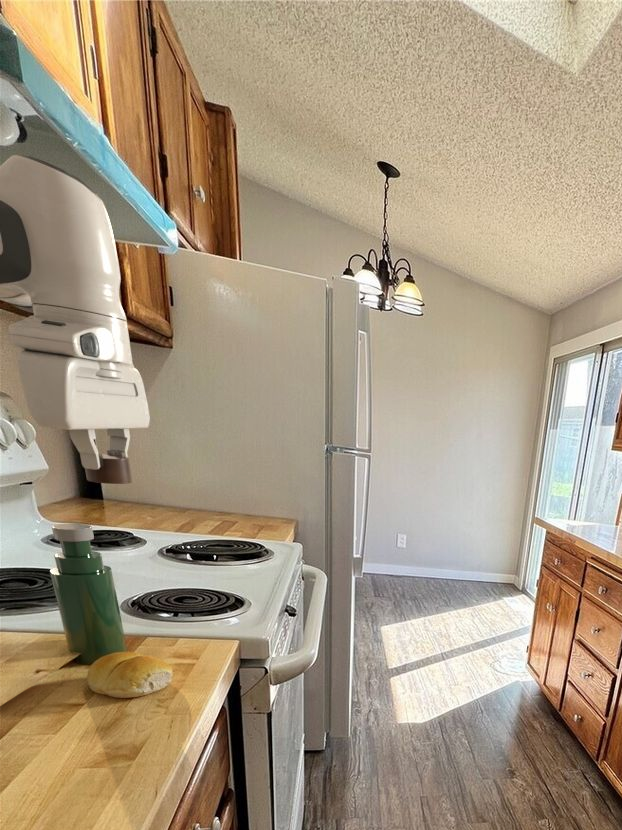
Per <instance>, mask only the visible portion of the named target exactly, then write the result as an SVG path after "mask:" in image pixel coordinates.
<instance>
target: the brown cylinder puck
mask: <svg viewBox="0 0 622 830" xmlns="http://www.w3.org/2000/svg"><path fill="white" fill-rule="evenodd" d="M101 454H102V455H103V463H104V468H102V469H96V470H94V469H86V468H84V470H85V477H86V480H87V481H88V482H92V483H98V484H109V485H110V484H111V485H124V484H125V485H128V484H132V483H133V478H132V472H131V465H130V458H129V457H128V458H127V457H123V456H116V455H107V453H106V454H105V453H101Z"/></svg>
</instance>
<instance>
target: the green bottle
mask: <svg viewBox="0 0 622 830" xmlns="http://www.w3.org/2000/svg"><path fill="white" fill-rule="evenodd" d="M51 530H52V534H53V539H54V540H56V541H59V543H60V547H61V550H62V551H59V552H57V553H54V557H53V558H54V560H55V561H54V562H55V566H56V567H53V568H50V570H49V574H50V579H51V582H52V588H53V590H54V595H55V599H56V603H57V608H58V611H59V616H60V619H61V624H62V628H63V632H64V638H65V640H66V645H67V649H68V650H69V651H70V652H72V653H77V654H78V655H77V656H75V657H74V658H72V659H71V661H72V662H73V663H75V664H80V665H92V664H93V663H94V662H95V661H96V660H98V659H99V658H101V657H103V656H106V655H109V654H112V653H116V652H128V647H127V641H126V637H125V631H124V626H123V621H122V616H121V612H120V611H121V610H120V605H119V600H118V595H117V590H116V586H115V585H116V584H115V580H114V575H113V574H114V573H113V569H112V568H111V567H110V566H108V565H104V562H103V556H102V553H101V552H98V551H94V550H93V549H92V545H91V544H92V543H91V541H93V540H94V539H95V536H94V530H93V526H92V525H90V524H85V523H57V524H54V525H52V526H51Z"/></svg>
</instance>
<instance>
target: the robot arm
mask: <svg viewBox="0 0 622 830" xmlns="http://www.w3.org/2000/svg"><path fill="white" fill-rule="evenodd" d="M120 269H121V268H120V263H119V257H118V252H117V246H116V242H115V237H114V232H113V228H112V223H111V220H110V217H109V214H108V211H107V208H106V206H105V203H104V201H103V200H102V199H101V197H100V196H99V195H98V194H97V192H95V190H94V189H93V188H92V187H91V186H90V185H88V184H87V183H86V182H84V181H83V180H82V179H80V178H79V177H77V176H76V175H75V174H73V173H70V172H68V171H66V170H65V169H64V168H61V167H59V166H57V165H54V164H52V163H50V162H48V161H46V160H43V159H41V158H37V157H34V156H30V155H24V154H13V155H11V156H10V157H9V158H7V159H6V161H4V162H3V163H2V164H1V165H0V301H3V302H6V303H8V304H10V305H12V306H14V307H16V308H18V309H20V310H22V311H25V312H28V313H32V314H33V315H29V316H28V317H26V318H24V319H22V320H18V321H15V322H13V323H10V324H9V325H8V327H7V331H8V337H9V341H10V343H11V345H12V346H13V347H14V348H16V349H18V350H21V351H20V352H19V353H18V357H17V366H18V367H17V368H18V371H19V377H20V382H21V385H22V387H21V388H22V390H23V394H24V399H25V401H26V406H27V409H28V413H29V414H30V416H31V417H32V419H33V420H34V421H35V423H36V424H37V425H38V426H39V427H41V428H42V427H43V428H49V429H57V430H67V431H68V434H69V438H70V441H72V443H73V445H74V447H75V448H76V450H77V451H78V453H79V456H80V462H81V465H82V467H83V468H84V469H85V468H86V469H94V470H96V469H102V468H104V463H103V455H102V454H103V453H99V450H98V448H97V445H96V443H95V440H96V439H97V437H96V431H95V430H106V434H107V436H108V437H109V449H107V450H106V455H116V456H123V457H127V458H129V456H128V450H129V445H130V441H131V434H130V433H131V432H130V429H148V428H149V427H150V423H151V422H150V421H151V417H150V416H151V415H150V409H149V403H148V399H147V394H146V390H145V385H144V381H143V378H142V376H141V373H140V372H139V370H138V369H137V368H136V367H135V365H134V363H133V357H132V350H131V349H132V348H131V341H130V335H129V327H128V320H127V315H126V313H125V310H124V309H123V306H122V303H121V297H120V288H121V282H122V281H121V279H122V277H121V271H120Z"/></svg>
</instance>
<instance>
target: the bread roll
mask: <svg viewBox="0 0 622 830" xmlns="http://www.w3.org/2000/svg"><path fill="white" fill-rule="evenodd" d="M172 679H173V668H172V667H171V664H169V663H168V662H166V661H165V660H163V659H162V658H158V657H156V656H154V655H146V654H145V655H144V654H143V655H142V654H140V653H139V652H135V651H127V652H116V653H112V654H109V655H106V656H103V657H101V658H99V659H98V660H96V661H95V662H94V663H93V664H90V666H89V668H88V671H87V674H86V682H87V684H88V687H89V688H90V690H91V691H93V692H94V693H96V694H99V695H104V696H109V697H112V698H116V699H117V698H120V699H131V698H138V697H144V696H146V695H150V694H152V693H156V692H158V691H161V690H163V689H164V688H166V687H168V686H169V685H170V684H171V683H172Z"/></svg>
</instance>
